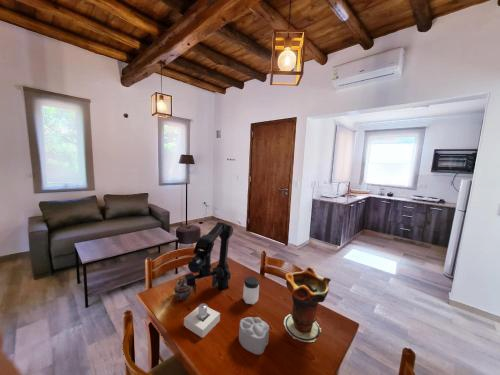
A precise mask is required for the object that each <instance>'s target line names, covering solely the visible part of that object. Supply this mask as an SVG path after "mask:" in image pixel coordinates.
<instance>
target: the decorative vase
mask: <svg viewBox="0 0 500 375" xmlns="http://www.w3.org/2000/svg"><path fill="white" fill-rule="evenodd" d="M331 280H332V279H331V278H330V277H321V276H320V275H318V274H317V273H316V272H315V271H314V268H312V267H311V266H307V267H306V268H305V269H304V270H303V271H296V272H288V273H286V274H285V286H286V288H287V291H288V294H290V295H291V311H290V314H288V315H287V316H285V317H284V320H283V325H284V327H285V330H286V332H287V333H289V335H290V336H291V337H292V339H294V340H298V341H300V342H304V343H306V342H307V343H312V342H313V343H314V342H315V341H317V337H318V336H320V334H321V333H322V328H321V327H320V324H319V322H318V320H317V317H316V315H317V311H318V305H319V304H320V303H324V302H325V300H326V299H327V296H328V293H329V291H330V286H329V284H330V282H331Z"/></svg>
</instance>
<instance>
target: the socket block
mask: <svg viewBox="0 0 500 375" xmlns="http://www.w3.org/2000/svg"><path fill="white" fill-rule="evenodd" d="M198 309H199V306H197V307H196V308H195V309H194V310H192V311H191V312H190V313H189V314H187V315H186V316H185V317H184V318H183V327H184V326H185V328H186V329H188V330H189V331H190V332H192V333H194V334H196V335H197V336H199V338H202V339H204V338H205V337H206V335H207V334H208V333H210V332H211V331H212V329H214V327H216V325H217V324H218V323H219V322H221V312H219V311H217V310H214V309H212V307H211V308H210V307H209V306H207V319H205V320H204V321H203V322H202V321H200V320H198Z"/></svg>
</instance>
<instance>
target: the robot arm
mask: <svg viewBox="0 0 500 375" xmlns="http://www.w3.org/2000/svg"><path fill="white" fill-rule="evenodd" d="M233 233H234V227H233V226H232V225H229V224H227V223H225V222H223V221H222V222H220V221H218V222H216V225H215V226H213V228H212V229H210V231H209V232H208V233H207V234H204V235H202V236H201V237H199V238H198V239H197V241H196V243H195V246H194V250H193V253H192V254H193V255H195V256H193V257H192V258H191V260H190V261H189V262H188V264H187V267H188V270H189V271H190V272H191V273H187V274H185V275H184V278H183V280H185V282H186V285H187V286H190V287H192V290H193V293H194V294H195V295H196V294H197V284H196V281H198V280H200V279H204V278H208V277H210V276H212V280H211V289H214V288H215V286H216V288H217V289H218V290H219V291H223V290H226V289H227V290H228V289H230V286H229V280H231V275H232V273H231V272H230V267H229V264H228V253H229V243H230V238H231V237H232V236H233ZM218 237H219V238H220V247H219V256H218V257H219V258H218V263H217V265H216V266H215V267H213V268H212V263H211V261H212V260H211V259H212V258H211V257H212V255H211V254H212V251H213V248H214V246H215V241H216V239H217V238H218ZM211 268H212V270H211Z"/></svg>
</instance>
